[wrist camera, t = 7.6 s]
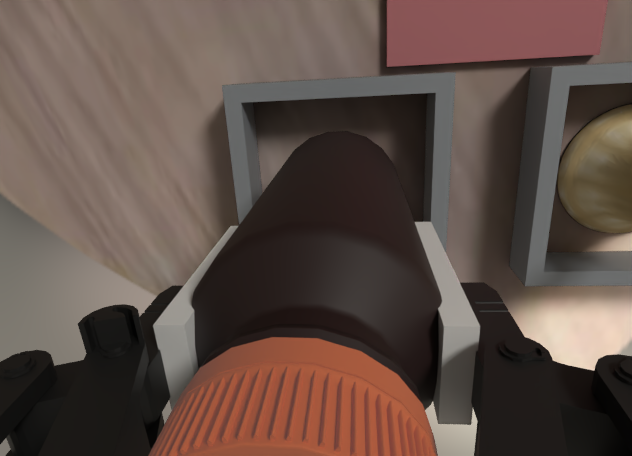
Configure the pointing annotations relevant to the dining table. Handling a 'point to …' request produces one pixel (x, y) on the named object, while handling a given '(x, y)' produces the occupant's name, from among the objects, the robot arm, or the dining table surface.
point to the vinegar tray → (433, 84)
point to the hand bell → (600, 173)
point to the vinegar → (315, 319)
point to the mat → (491, 30)
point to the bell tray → (540, 184)
